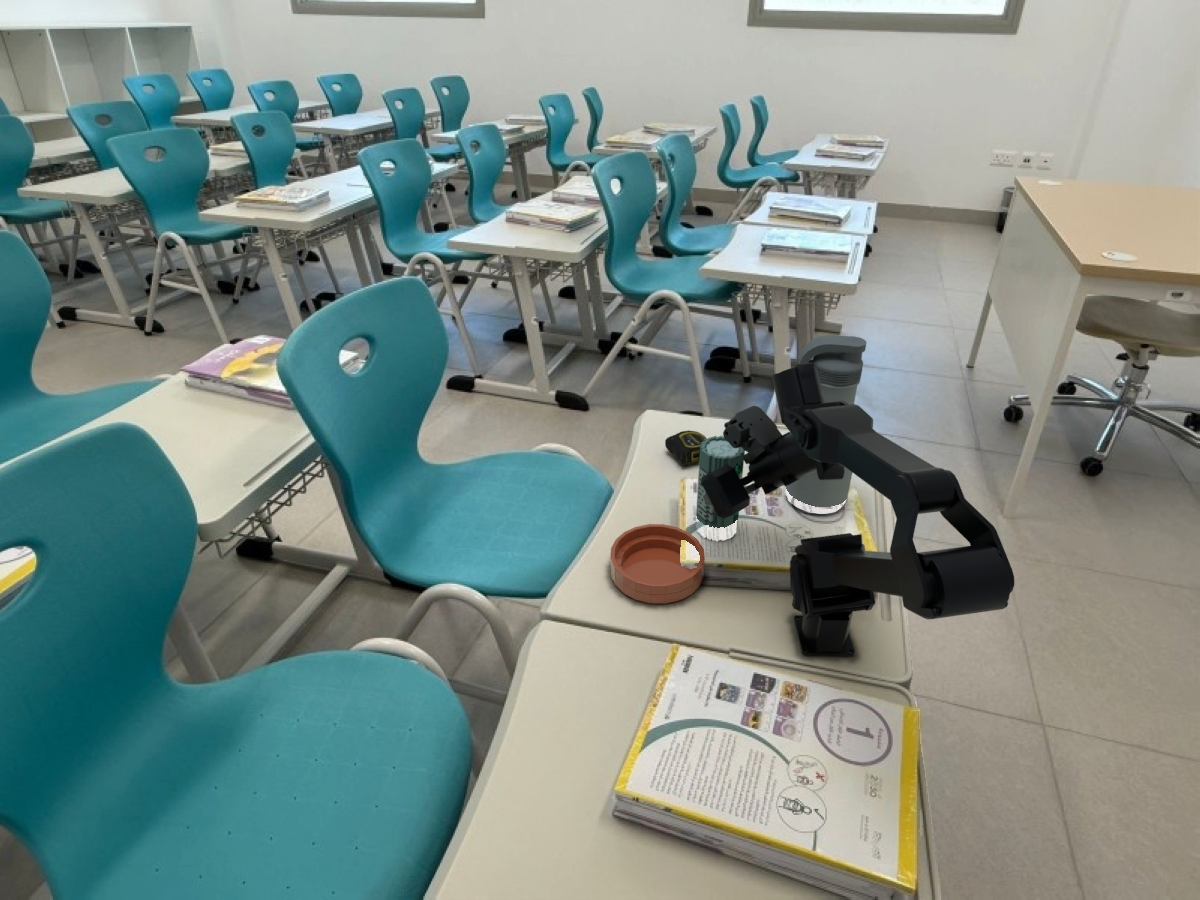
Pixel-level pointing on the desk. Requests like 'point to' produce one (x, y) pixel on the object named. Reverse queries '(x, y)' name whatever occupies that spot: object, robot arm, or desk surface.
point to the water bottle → (839, 383)
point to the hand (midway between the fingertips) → (727, 488)
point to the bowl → (654, 564)
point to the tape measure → (685, 446)
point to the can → (711, 458)
